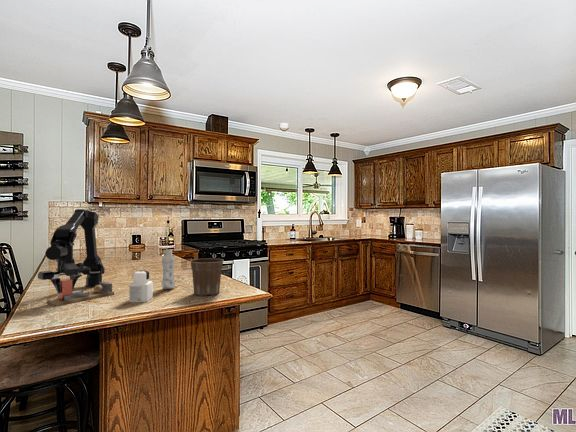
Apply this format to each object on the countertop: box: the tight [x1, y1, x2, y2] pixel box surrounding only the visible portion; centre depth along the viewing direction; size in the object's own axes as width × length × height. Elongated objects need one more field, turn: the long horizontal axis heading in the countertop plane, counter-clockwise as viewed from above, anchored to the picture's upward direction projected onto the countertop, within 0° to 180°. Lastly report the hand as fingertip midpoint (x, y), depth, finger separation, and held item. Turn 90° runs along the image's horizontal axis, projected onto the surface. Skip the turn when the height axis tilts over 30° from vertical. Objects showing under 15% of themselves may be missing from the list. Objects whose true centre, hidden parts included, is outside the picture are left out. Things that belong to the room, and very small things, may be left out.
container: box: [128, 269, 154, 303], centre depth 151 cm, size 8×8×13 cm
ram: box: [57, 278, 82, 300], centre depth 149 cm, size 8×4×8 cm, turn 146°
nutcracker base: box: [46, 280, 115, 307], centre depth 153 cm, size 24×10×5 cm, turn 146°
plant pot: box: [189, 257, 225, 297], centre depth 165 cm, size 16×16×16 cm
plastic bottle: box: [161, 249, 176, 290], centre depth 172 cm, size 6×7×20 cm
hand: (65, 292), depth 148 cm, fingers open, 5 cm apart
